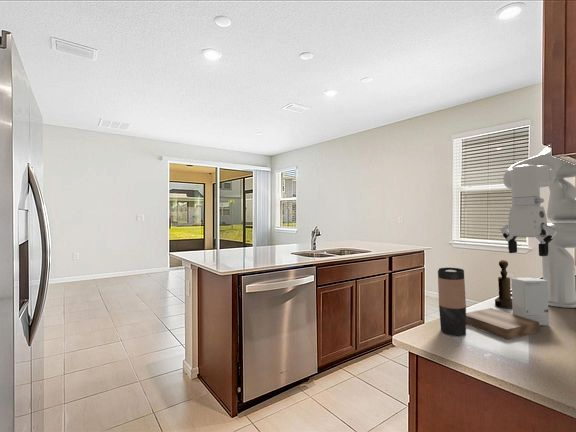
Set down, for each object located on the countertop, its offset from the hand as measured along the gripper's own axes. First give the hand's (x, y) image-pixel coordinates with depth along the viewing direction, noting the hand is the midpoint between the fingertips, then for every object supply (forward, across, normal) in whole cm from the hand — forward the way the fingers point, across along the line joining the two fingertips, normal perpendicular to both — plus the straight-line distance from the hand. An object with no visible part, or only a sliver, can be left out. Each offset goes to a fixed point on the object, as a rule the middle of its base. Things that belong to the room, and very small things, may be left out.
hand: (527, 254), depth 105 cm
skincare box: (+23, 0, 0) cm, 23 cm away
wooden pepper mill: (+23, +16, -10) cm, 30 cm away
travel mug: (+23, +5, +28) cm, 37 cm away
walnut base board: (+23, +2, +12) cm, 26 cm away
